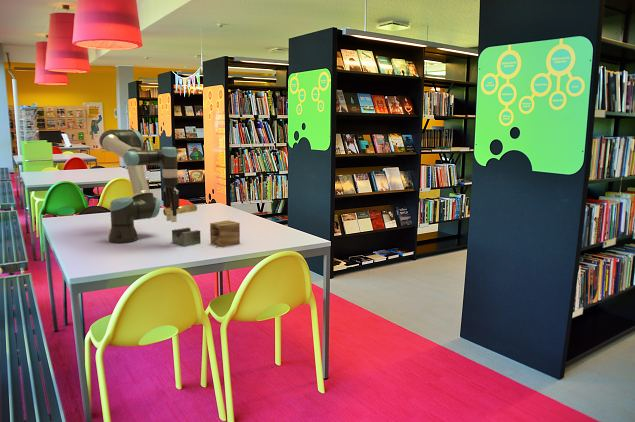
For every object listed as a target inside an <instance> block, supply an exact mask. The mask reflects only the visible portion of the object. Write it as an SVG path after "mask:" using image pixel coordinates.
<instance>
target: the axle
mask: <svg viewBox="0 0 635 422" xmlns="http://www.w3.org/2000/svg"><path fill="white" fill-rule="evenodd" d="M171 209H172V206H171V207H170V208H165V207H163V210H162V213H163V215H164V216H165V217H167V216H168V215H171ZM197 211H198V206H197V204H195V203H193V204H187V205H179V209H177V210H176V212H177V215H181V214H186V213H187V214H188V213H193V212H197Z"/></svg>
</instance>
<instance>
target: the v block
mask: <svg viewBox="0 0 635 422" xmlns="http://www.w3.org/2000/svg"><path fill="white" fill-rule="evenodd" d="M171 242H172V243H173V244H176V245H179V246H183V247H188V246H194V245H200V244H201V242H202V241H201V230H199V229H196V230H192V229H191V228H190V227H183V228H177V229H171Z"/></svg>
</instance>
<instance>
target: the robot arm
mask: <svg viewBox="0 0 635 422" xmlns="http://www.w3.org/2000/svg"><path fill="white" fill-rule="evenodd" d="M98 141H99V142H98V143H99V145H100V147H101V148H102V149H103V150H104V151H107V152H110V153H113V154H116V155H117V156H118V157H120V158H122V159H123V163H125V165H126V169H127V174H128V178H129V181H130V184H131V190H132V192H133V195H132V196H126V197H124V196H123V197H118V198H114V199H113V200H111V201H110V204H109V205H110V206H109V207H110V208H109V210H110V223H111V224H110V231H109V235H108V242H109V243H113V244H127V243H133V242H136V241H138V240H139V236H138V233H137V231H136V228H135V222H134V221H139V220H147V219H148V220H149V219H154V218H156V217H158V215H159V214H160V210H161V204H160V202H161V201H160V199H159V198H158V197H156V196H155V195H154V193H153V192H152V191H150V188H149V184H148V182H147V177H146V174H145V170H144V166H151V165H152V166H155V165H161V166H162V167H161V169H162V173H161V174H162V185H163V186H164V187H162V188H161V192H162V204H163V208H170V207H172V209H171V215H168V216H166V221H167V222H170V221H171V223H177V222H178V219H177V217H178V214H177V212H176V210H177V209H179V206H180V190H179V189H177V186H178V183H179V181H178V179H179V178H178V173H179V172H178V154H177V153H178V152H177V148H176V147H175V146H163V147H161V149H154V150H153V149H151V150H149V149H148V150H142V149H143V146H144V139H143V136H142V134H141V133H140V131H138V130H135V129H128V128H127V129H115V128H111V129H107V130H105V131H103V132H102V133H101V134H100V136H99V139H98ZM176 185H177V186H176Z"/></svg>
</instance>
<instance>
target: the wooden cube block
mask: <svg viewBox="0 0 635 422" xmlns="http://www.w3.org/2000/svg"><path fill="white" fill-rule="evenodd" d="M240 224H241V223H240V222H237V221H231V220H223V221H216V222H210V223H209V226H210V227H209V228H210V229H209V231H210V233H209V234H210V235H209V236H210V245H213V246H216V247H219V248H224V247H229V246H235V245H239V244H241V242H240V241H241V238H240V237H241V236H240V234H241V230H240V228H241V225H240Z"/></svg>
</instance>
